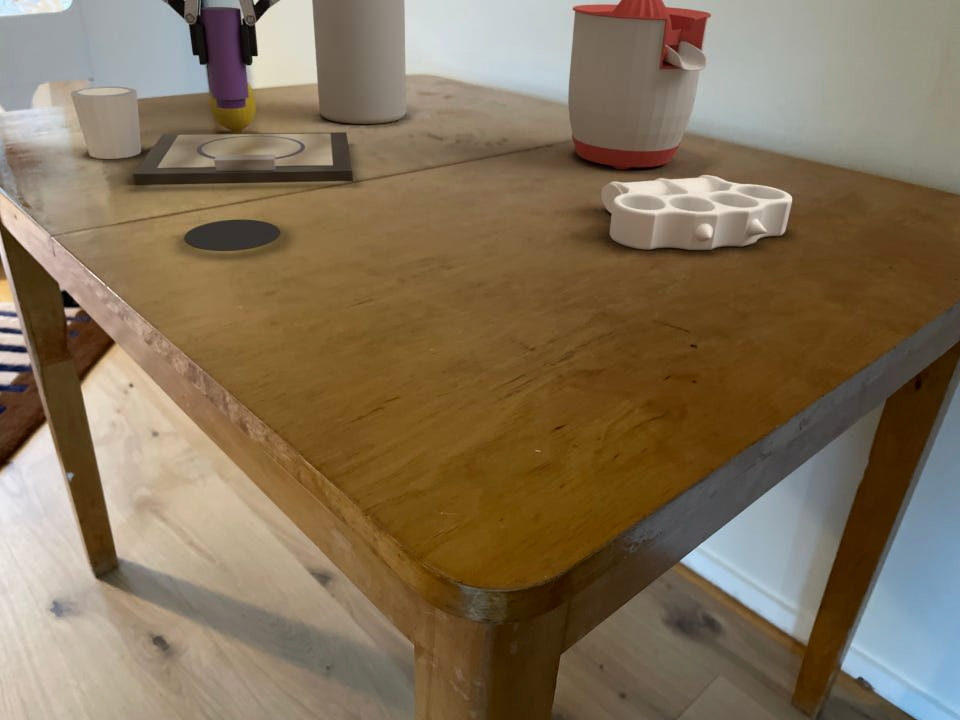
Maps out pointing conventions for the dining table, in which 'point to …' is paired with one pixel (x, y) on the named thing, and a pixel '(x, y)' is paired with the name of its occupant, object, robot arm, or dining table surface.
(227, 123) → the lemon
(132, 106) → the white cup
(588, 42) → the citrus juicer
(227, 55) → the cylinder
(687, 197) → the knuckle duster
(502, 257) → the dining table surface
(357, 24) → the cylinder vase
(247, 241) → the coaster
